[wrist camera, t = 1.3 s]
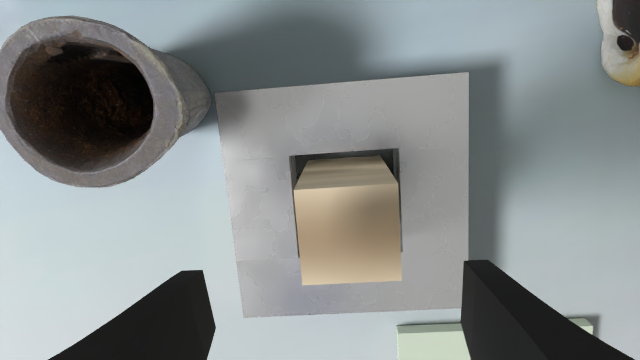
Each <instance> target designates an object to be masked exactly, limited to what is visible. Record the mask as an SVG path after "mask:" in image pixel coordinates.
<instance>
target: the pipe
mask: <svg viewBox="0 0 640 360" xmlns="http://www.w3.org/2000/svg"><path fill="white" fill-rule="evenodd" d="M211 102H212V97H211V94H210V92H209V90H208V88H207V86H206V84H205V83H204V81H203V80H202V78H201V77H200V76H199V74H198V73H197V72H196V71H195V70H194V69H193V68H192V67H191V66H189V65H188V64H187V63H185V62H183V61H182V60H180V59H178V58H176V57H174V56H171V55H168V54H165V53H163V52H160V51H157V50H154V49H151V48H149V47H148V46H146V45H145V44H144V43H142V42H141V41H139V40H138V39H137V38H135V37H134V36H132V35H131V34H129V33H127V32H126V31H124V30H122V29H120V28H118V27H116V26H114V25H111V24H108V23H105V22H102V21H97V20H93V19H89V18H84V17H78V16H59V17H48V18H43V19H39V20H36V21H33V22H30V23H28V24H26V25H24V26H22V27H21V28H20V29H18V30H17V31H16V32H15V33H14V34H12V35H11V36H10V37H9V38H8V39H7V40H6V41H5V42H4V44H3V45H2V48H1V50H0V130H1V131H2V132H3V134H4V135H5V137H6V139H7V141H8V142H9V143H10V144H11V145H12V146H13V148H14V149H15V150H16V151H17V152H18V153H19V155H20V156H21V157H22V158H23V159H24V160H25V161H26V162H27V163H28V164H30V165H31V166H32V167H33V168H34V169H35V170H36V171H38V172H39V173H41V174H43V175H44V176H46V177H48V178H50V179H51V180H54V181H56V182H59V183H63V184H67V185H71V186H75V187H110V186H114V185H117V184H120V183H123V182H126V181H128V180H130V179H133V178H135V177H136V176H138V175H139V174H141V173H142V172H144V171H145V170H147V169H148V168H149V167H150V166H151V165H153V164H154V163H155V162H156V161H158V160H159V159H160V158H161V157H162V156H163V155H164V154H165V153H166V152H167V151H168V150H169V149H170V148H171V147H172V146H173V145H174V144H175V142H176V141H177V140H178V138H179V137H181V136H183V135H185V134H187V133H189V132H190V131H192V130H193V129H194V128H195V127H196V126H197V125H198V124H199V123H200V122H201V121H202V120H203V118H204V117H205V115H206V114H207V112H208V110H209V108H210V106H211Z"/></svg>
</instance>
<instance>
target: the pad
mask: <svg viewBox="0 0 640 360" xmlns="http://www.w3.org/2000/svg"><path fill="white" fill-rule="evenodd" d="M569 320H570V321H572V322H573V323H575V324H576V325H578V326H579V327H581V328H582V329H584V330H586V331H587V332H589V333H590V334H592V335H593V325H592V324H591V323H590V322H588V321H587V320H586V319H585V318H574V319H569ZM396 332H397V356H398V360H471V358H470V355H469V351H468V348H467V344H466V341H465V337H464V333H463V329H462V326H461V323H453V324H429V325H405V326H396Z"/></svg>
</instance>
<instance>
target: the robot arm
mask: <svg viewBox="0 0 640 360" xmlns="http://www.w3.org/2000/svg"><path fill="white" fill-rule="evenodd" d="M461 326H462V329H463V333H464V337H465V341H466V344H467V348H468V351H469V355H470V358H471V360H634V359H633V358H631V357H629V356H627V355H626V354H624V353H622V352H620V351H619V350H617V349H615V348H613V347H612V346H610V345H608V344H606V343H605V342H603V341H601V340H600V339H598V338H597V337H595V336H593V335H592V334H590V333H589V332H587V331H586V330H584V329H582V328H581V327H579V326H578V325H576V324H575V323H573V322H572V321H570V320H569V319H567V318H566V317H564V316H563V315H561V314H560V313H558V312H557V311H556V310H554V309H553V308H551V307H550V306H548V305H547V304H546V303H544V302H543V301H542V300H540V299H539V298H537V297H536V296H535V295H533V294H532V293H531V292H529V291H528V290H527V289H525V288H524V287H523V286H521V285H520V284H519V283H518V282H516V281H515V280H514V279H512V278H511V277H510V276H508V275H507V274H506V273H505V272H503V271H502V270H501V269H499V268H498V267H497V266H495V265H494V264H493V263H491V262H490V261H489V260H469V261H464V265H463V286H462V307H461ZM215 329H216V327H215V322H214V318H213V314H212V309H211V305H210V301H209V296H208V292H207V287H206V283H205V279H204V274H203V270H191V271H181V272H179V273H178V274H176V275H174V276H173V277H171V278H170V279H168V280H167V281H166V282H164V283H163V284H161V285H160V286H158V287H157V288H156V289H154V290H153V291H152V292H150V293H149V294H147V295H146V296H145V297H143V298H142V299H140V300H139V301H138V302H136V303H135V304H133V305H132V306H131V307H129V308H128V309H126V310H125V311H124V312H122V313H121V314H119V315H118V316H116V317H115V318H113V319H112V320H110V321H109V322H107V323H106V324H104V325H103V326H101V327H100V328H98V329H97V330H95V331H94V332H92V333H91V334H89V335H88V336H86V337H85V338H83V339H82V340H80V341H79V342H77V343H76V344H74V345H72V346H71V347H69V348H67V349H66V350H64V351H62V352H61V353H59V354H57V355H55V356H54V357H52V358H50V359H48V360H207V357H208V353H209V350H210V347H211V343H212V340H213V336H214V332H215Z"/></svg>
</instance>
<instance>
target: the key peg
mask: <svg viewBox="0 0 640 360" xmlns="http://www.w3.org/2000/svg"><path fill="white" fill-rule="evenodd" d="M294 201H295V212H296V222H297V233H298V243H299V254H300V265H301V275H302V285H322V284H343V283H364V282H385V281H402V274H401V247H400V219H399V192H398V182H397V181H396V179H395V178H394V176H393V175H392V173H391V172H390V170H389V168H388V167H387V165H386V164H385V162H384V161H383V159H382V158H381V156H380V155H377V156H362V157H348V158H333V159H319V160H308V161H307V163H306V165H305V167H304V170H303V172H302V174H301V176H300V178H299V180H298V182H297V184H296V186H295V188H294Z"/></svg>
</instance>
